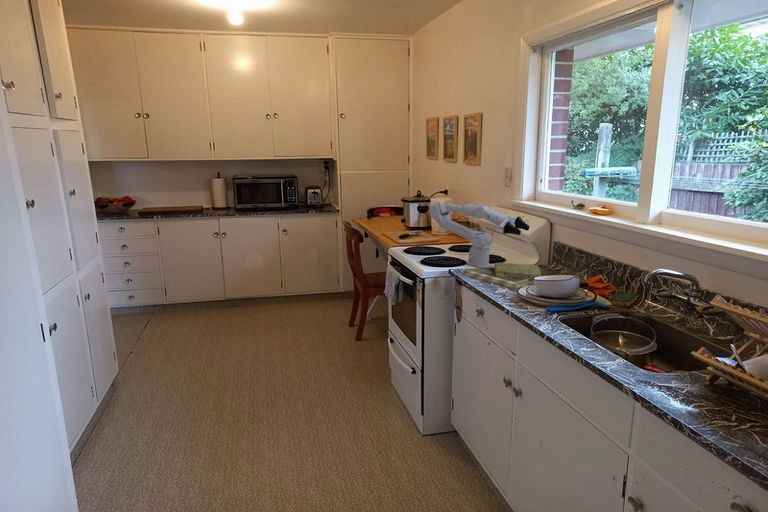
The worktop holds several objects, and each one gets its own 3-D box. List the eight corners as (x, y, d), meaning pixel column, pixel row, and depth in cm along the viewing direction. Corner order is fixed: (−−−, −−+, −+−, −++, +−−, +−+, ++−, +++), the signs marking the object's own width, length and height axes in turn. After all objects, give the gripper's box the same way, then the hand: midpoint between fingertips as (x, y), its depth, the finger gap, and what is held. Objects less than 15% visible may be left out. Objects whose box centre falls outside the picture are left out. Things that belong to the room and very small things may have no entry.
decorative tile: (494, 268, 228) (494, 261, 227) (537, 270, 224) (538, 263, 223) (494, 278, 210) (495, 270, 210) (541, 281, 206) (542, 273, 206)
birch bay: (463, 274, 214) (464, 270, 214) (478, 271, 220) (478, 267, 220) (514, 288, 194) (514, 284, 194) (528, 284, 200) (528, 279, 200)
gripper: (492, 215, 214) (518, 227, 207) (509, 207, 224) (534, 218, 216) (489, 229, 218) (514, 241, 210) (505, 221, 227) (530, 232, 220)
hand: (524, 230), depth 213 cm, fingers open, 7 cm apart
